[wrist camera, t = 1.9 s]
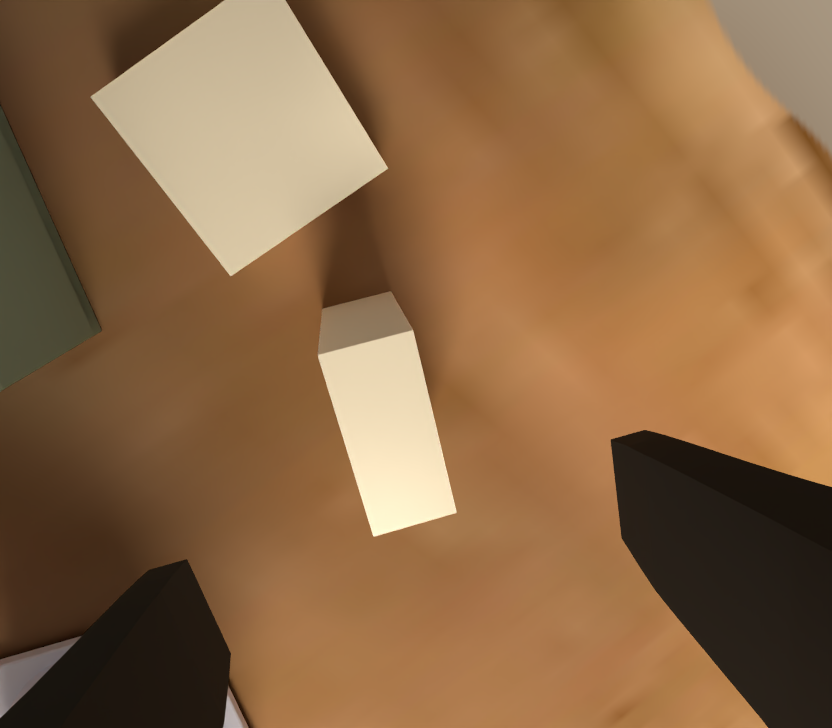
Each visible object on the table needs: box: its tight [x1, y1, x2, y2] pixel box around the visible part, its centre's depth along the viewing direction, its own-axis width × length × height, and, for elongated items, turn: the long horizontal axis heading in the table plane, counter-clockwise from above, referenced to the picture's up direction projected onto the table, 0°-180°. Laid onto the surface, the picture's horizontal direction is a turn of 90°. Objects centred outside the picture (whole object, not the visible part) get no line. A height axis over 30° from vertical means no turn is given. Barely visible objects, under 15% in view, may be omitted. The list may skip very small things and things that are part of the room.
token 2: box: [318, 291, 457, 537], centre depth 15 cm, size 5×2×5 cm, turn 13°
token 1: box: [91, 0, 388, 276], centre depth 14 cm, size 5×5×2 cm
